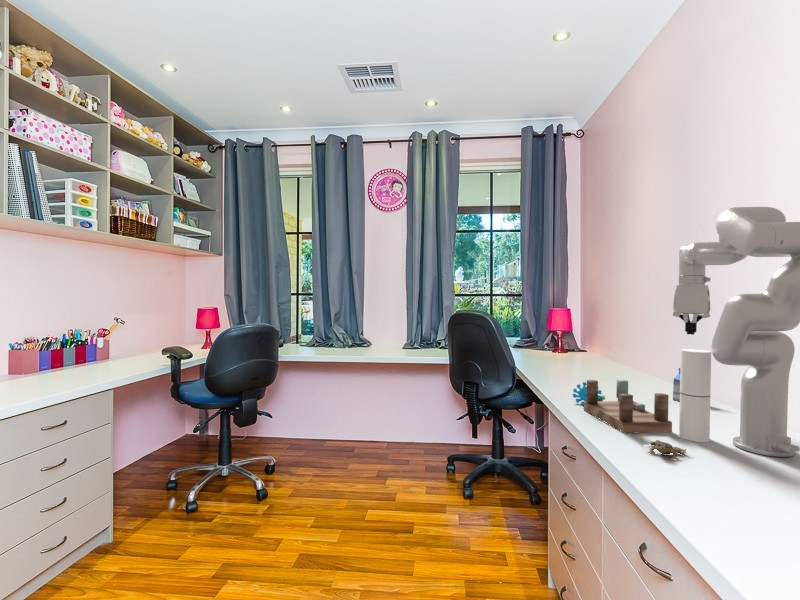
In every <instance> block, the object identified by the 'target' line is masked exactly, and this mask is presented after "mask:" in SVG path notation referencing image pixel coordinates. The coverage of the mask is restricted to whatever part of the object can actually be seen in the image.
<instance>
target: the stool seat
mask: <svg viewBox="0 0 800 600" xmlns="http://www.w3.org/2000/svg"><path fill="white" fill-rule="evenodd" d="M586 384H587V385H586V387H587V392H586V402H584V406H583V409H584V410H586V411H587V412H586V411H585V412H586V413H588V412H589V413H588V414H590V413H591V414H592V415H591V414H590V415H591V416H593V415H594V416H593V417H595V416H596V417H595V418H597V417H598V418H600V419H601V421H602V420H603V421H605V422H607V423H608V424H607V423H606V424H607V425H609V424H610V425H612V426H614V427H615V428H614V427H613V428H614V429H616V428H617V429H619V430H621V431H622V432H621V431H620V432H621V433H623V432H639V433H673V422H672V421H671V420H669V397H670V395H669V394H666V393H661V392H660V393H658V392H656V393H654V400H653V401H654V402H653V403H654V408H653V411H654V412H653V413H652V412H651V411H649V410H646V409H645V411H638V410H636V409H634V408H633V401H634V395H633V394H629V393H628V394H619V401H618V400H615V401H614V400H612V401H611V400H610V401H609V400H606V401H605V400H603V401H598V395H599V394H598V390H599V389H598V388H599V381H598V380H595V379H587V380H586ZM584 410H583V411H584ZM598 418H597V419H598ZM600 419H599V420H600ZM603 421H602V422H603ZM605 422H604V423H605ZM610 425H609V426H610ZM612 426H611V427H612ZM617 429H616V430H617ZM619 430H618V431H619Z"/></svg>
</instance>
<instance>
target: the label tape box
mask: <svg viewBox="0 0 800 600" xmlns="http://www.w3.org/2000/svg"><path fill="white" fill-rule="evenodd" d="M672 385H673V387H672V401H676V402H680V367H679V368H678V374H677V375H676V376H675V377H673V384H672Z"/></svg>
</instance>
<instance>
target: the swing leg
mask: <svg viewBox="0 0 800 600" xmlns="http://www.w3.org/2000/svg"><path fill="white" fill-rule="evenodd" d="M615 393H616V395H615V397H616V399H617V401H619V394H629V381H628V380H626V379H617V380H616V392H615ZM633 408H634V409H636V410H638V411H645V410H646V404H644V403H638V402H636V401H634V400H633Z"/></svg>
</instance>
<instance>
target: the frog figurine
mask: <svg viewBox="0 0 800 600" xmlns="http://www.w3.org/2000/svg"><path fill="white" fill-rule="evenodd" d="M649 444H651V445H654V446H651V447H650V449H649V451H648V452H647V454H648V453H650V454H655V453H656V452H655V451H653V450H654V449H657V450H658V451H659V452H660V453H662V454H670V453H673V454H674V456H670V457H671V459H678V458H677V457H678V454H677V453H680V454H682V455H684V453H685V454H687V449H685V448H681V447H678V446H673V445H672V444H670V443H669V442H665V441H661V440H659V439H657V440H655V441H651V442H650V443H649ZM660 453H659V454H660ZM650 454H649V455H650ZM682 455H681V456H682ZM671 459H670V460H671Z"/></svg>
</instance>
